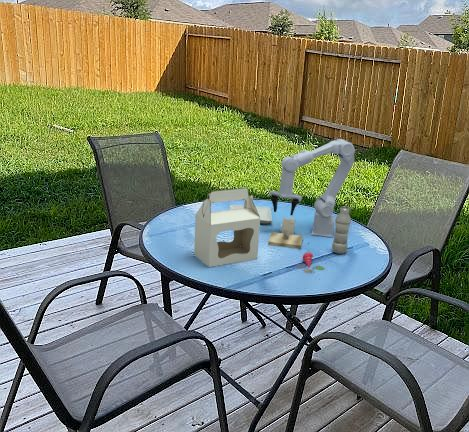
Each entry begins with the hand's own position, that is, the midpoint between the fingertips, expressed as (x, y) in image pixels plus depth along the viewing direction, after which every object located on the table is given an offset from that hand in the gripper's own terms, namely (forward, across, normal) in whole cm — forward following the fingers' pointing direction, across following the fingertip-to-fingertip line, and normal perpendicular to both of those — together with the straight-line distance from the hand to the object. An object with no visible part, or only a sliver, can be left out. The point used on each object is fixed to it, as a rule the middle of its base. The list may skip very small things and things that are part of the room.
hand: (283, 213), depth 218 cm
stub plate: (+10, +4, -9) cm, 14 cm away
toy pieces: (+10, +19, -30) cm, 37 cm away
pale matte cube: (+10, +2, +3) cm, 11 cm away
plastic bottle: (+10, +28, -10) cm, 31 cm away
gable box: (+11, -13, -36) cm, 40 cm away
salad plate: (+11, -20, +14) cm, 27 cm away
